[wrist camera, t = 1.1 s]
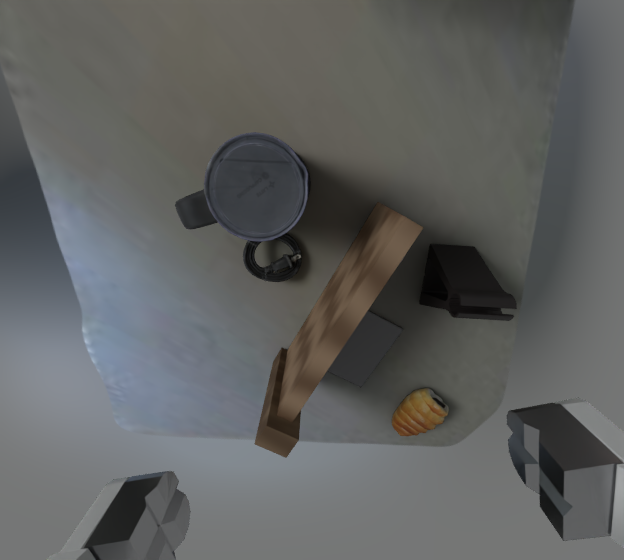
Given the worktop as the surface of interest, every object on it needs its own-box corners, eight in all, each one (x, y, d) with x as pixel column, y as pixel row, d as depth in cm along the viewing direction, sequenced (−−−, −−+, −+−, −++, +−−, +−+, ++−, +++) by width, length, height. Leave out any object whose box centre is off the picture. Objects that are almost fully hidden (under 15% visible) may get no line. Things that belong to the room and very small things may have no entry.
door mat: (340, 295, 47) (340, 296, 46) (402, 328, 48) (403, 329, 48) (301, 357, 50) (301, 358, 50) (360, 385, 52) (361, 387, 51)
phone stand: (459, 305, 47) (504, 349, 36) (418, 303, 47) (450, 345, 36) (473, 246, 44) (527, 273, 33) (430, 243, 44) (469, 269, 33)
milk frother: (283, 128, 39) (264, 106, 25) (353, 231, 44) (369, 260, 30) (198, 197, 42) (140, 211, 28) (271, 287, 46) (251, 338, 32)
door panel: (371, 198, 42) (401, 214, 27) (402, 216, 43) (449, 242, 28) (273, 361, 51) (254, 444, 36) (300, 374, 51) (294, 461, 36)
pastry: (408, 435, 55) (414, 453, 52) (380, 414, 54) (384, 432, 51) (449, 402, 53) (458, 419, 49) (421, 379, 52) (428, 395, 48)
